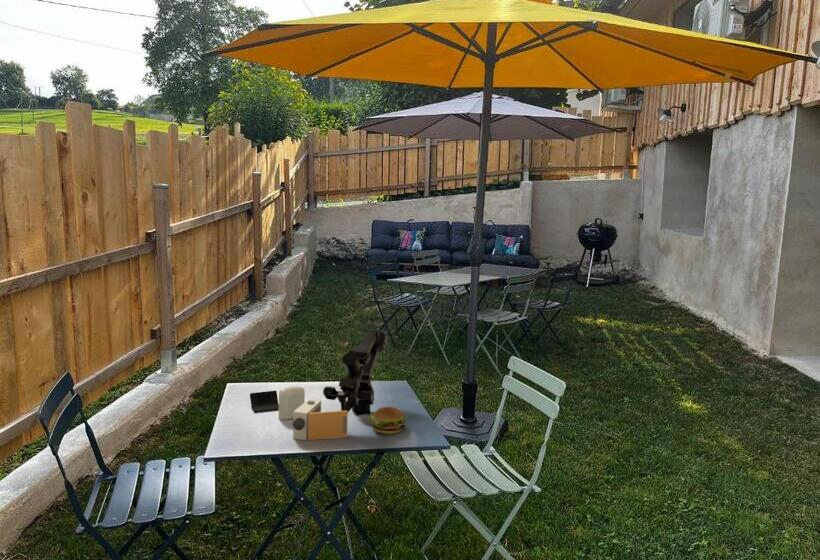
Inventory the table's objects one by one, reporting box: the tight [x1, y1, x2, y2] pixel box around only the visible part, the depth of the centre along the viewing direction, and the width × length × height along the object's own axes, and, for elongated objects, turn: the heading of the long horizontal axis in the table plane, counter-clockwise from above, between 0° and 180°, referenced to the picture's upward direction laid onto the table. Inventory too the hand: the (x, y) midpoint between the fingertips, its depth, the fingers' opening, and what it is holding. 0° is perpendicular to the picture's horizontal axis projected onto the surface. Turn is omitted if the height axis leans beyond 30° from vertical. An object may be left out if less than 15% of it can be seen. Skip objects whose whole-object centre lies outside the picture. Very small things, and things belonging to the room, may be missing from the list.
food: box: [367, 406, 407, 435], centre depth 233 cm, size 14×14×8 cm
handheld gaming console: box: [249, 390, 279, 414], centre depth 250 cm, size 12×7×10 cm
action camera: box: [292, 398, 322, 441], centre depth 226 cm, size 16×5×11 cm, turn 167°
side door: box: [306, 410, 349, 441], centre depth 221 cm, size 14×1×10 cm, turn 107°
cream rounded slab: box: [278, 385, 306, 421], centre depth 240 cm, size 10×4×12 cm, turn 123°
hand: (342, 416), depth 226 cm, fingers closed
